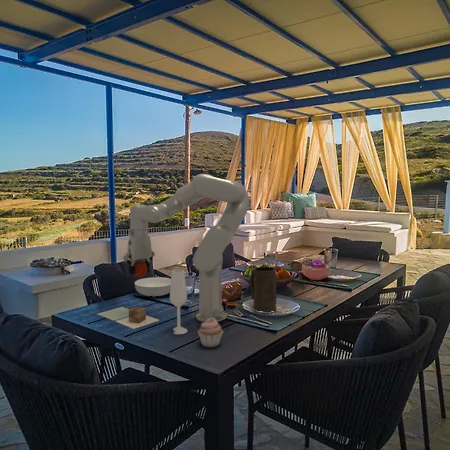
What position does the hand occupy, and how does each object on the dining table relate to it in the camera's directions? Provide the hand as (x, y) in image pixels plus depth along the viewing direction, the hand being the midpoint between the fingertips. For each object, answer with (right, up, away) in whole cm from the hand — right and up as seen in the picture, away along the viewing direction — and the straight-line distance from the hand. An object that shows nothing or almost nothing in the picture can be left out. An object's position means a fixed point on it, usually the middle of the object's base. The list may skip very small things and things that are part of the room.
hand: (139, 272), depth 173 cm
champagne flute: (+20, -21, -19) cm, 35 cm away
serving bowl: (+2, -15, +31) cm, 35 cm away
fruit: (0, -2, 0) cm, 2 cm away
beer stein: (+54, -18, +7) cm, 57 cm away
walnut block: (+1, -19, -10) cm, 21 cm away
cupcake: (+33, -22, -32) cm, 51 cm away
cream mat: (+1, -19, -10) cm, 22 cm away
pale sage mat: (-9, -18, -1) cm, 21 cm away
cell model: (+92, -12, +63) cm, 112 cm away
